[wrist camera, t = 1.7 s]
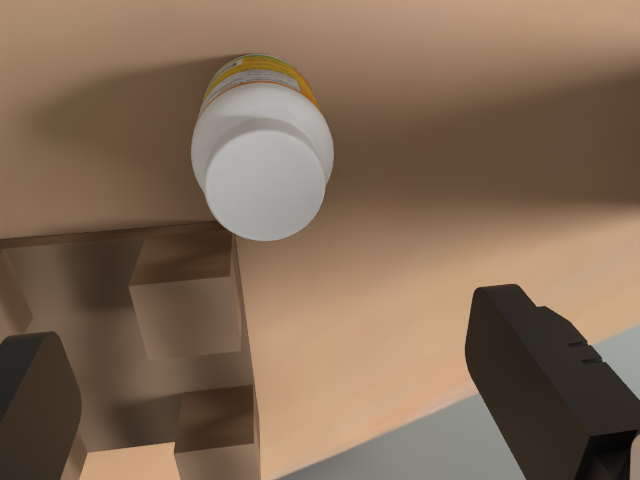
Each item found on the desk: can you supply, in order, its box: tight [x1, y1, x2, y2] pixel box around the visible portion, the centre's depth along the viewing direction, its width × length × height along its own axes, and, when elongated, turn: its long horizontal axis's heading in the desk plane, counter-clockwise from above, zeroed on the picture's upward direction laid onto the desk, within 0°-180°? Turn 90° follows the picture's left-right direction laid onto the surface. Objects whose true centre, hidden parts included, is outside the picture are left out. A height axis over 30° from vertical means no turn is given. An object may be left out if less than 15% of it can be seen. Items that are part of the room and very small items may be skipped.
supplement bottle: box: [191, 54, 334, 241], centre depth 20 cm, size 5×5×10 cm
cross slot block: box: [0, 222, 261, 480], centre depth 28 cm, size 16×16×6 cm
